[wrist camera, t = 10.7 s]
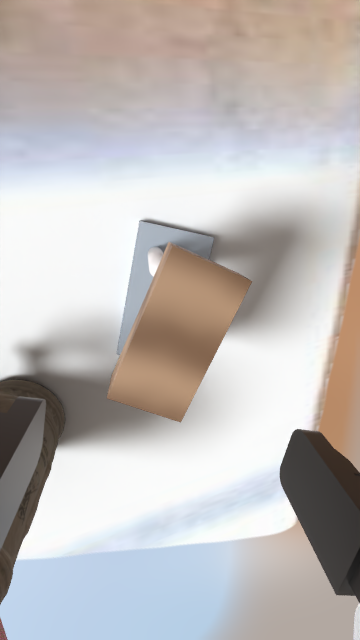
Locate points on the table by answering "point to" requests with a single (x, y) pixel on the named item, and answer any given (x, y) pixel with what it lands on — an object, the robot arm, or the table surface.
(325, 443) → the robot arm
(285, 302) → the table surface
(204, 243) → the peg stand
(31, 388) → the beer stein
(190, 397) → the brown wooden block
